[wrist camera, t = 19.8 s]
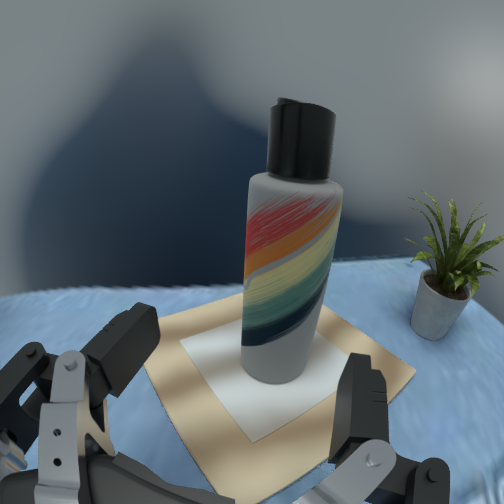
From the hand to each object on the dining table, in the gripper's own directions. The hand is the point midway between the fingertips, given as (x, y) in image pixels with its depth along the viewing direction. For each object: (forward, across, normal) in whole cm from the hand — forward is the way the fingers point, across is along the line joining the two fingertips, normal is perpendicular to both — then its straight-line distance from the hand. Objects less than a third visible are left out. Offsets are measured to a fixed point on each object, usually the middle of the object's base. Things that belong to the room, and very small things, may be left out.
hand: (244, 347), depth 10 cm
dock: (+9, 0, +12) cm, 15 cm away
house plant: (+20, -17, +12) cm, 29 cm away
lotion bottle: (+9, 0, +11) cm, 14 cm away
